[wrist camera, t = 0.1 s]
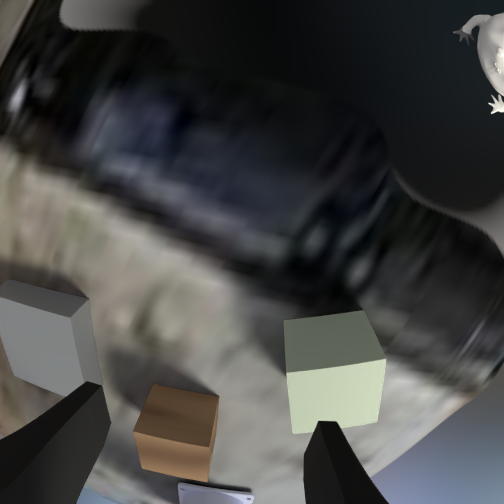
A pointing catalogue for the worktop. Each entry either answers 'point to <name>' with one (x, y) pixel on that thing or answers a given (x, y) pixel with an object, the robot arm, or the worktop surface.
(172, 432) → the walnut cube
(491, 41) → the white frog figurine
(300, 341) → the sage cube
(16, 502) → the robot arm
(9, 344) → the slate tile
